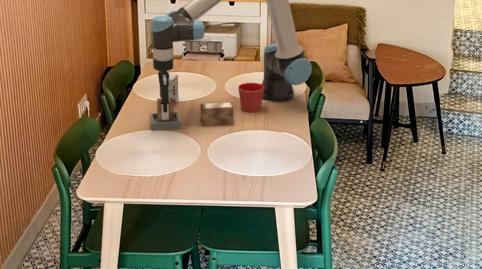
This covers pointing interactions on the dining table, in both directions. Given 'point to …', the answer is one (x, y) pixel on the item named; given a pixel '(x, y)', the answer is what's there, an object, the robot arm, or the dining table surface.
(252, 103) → the flower pot
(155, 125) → the slate tray
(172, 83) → the ink box
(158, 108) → the brown block
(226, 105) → the brown wooden box
